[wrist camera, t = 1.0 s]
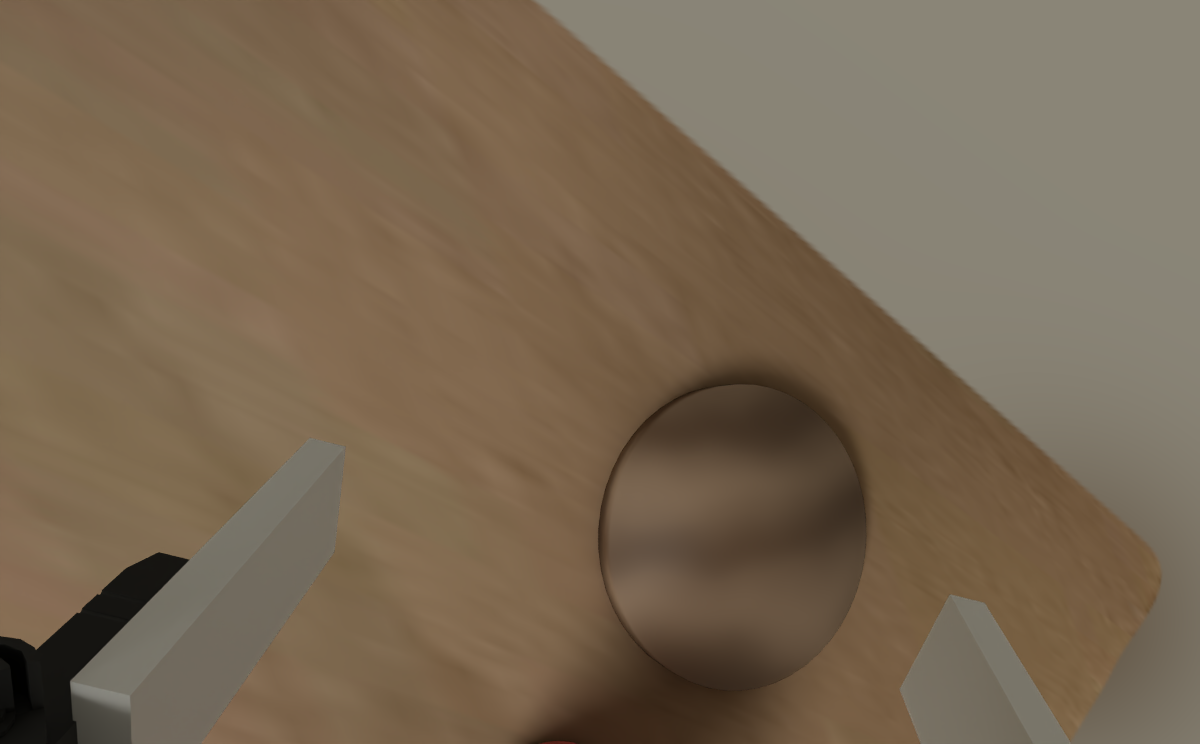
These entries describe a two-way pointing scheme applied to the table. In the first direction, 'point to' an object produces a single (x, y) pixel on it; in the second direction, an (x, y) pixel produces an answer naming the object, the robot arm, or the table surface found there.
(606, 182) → the table surface
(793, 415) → the brown plate
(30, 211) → the table surface
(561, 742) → the flower pot
